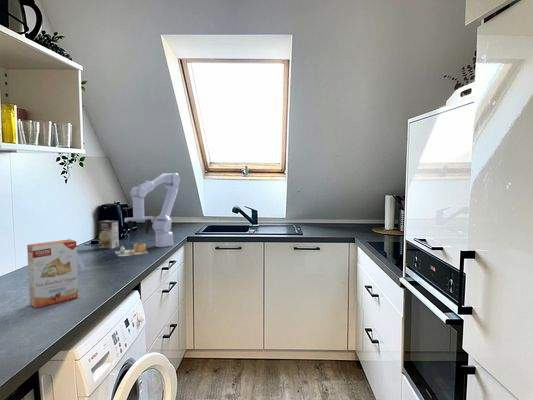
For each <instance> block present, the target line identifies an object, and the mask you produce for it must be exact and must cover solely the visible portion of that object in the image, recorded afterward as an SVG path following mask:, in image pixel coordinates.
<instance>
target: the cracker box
mask: <svg viewBox="0 0 533 400" xmlns="http://www.w3.org/2000/svg"><path fill="white" fill-rule="evenodd" d="M26 250H27V271H28V272H27V273H28V275H27V276H28V292H29V305H30V306H32V307H33V308H34V309H38V308H41V307H46V306H50V305H53V304H58V302H59V303H62V301H63V302H65V300H67V301H70V300H69V299H71V300H73V299H72V298H75V299H77V298H76V297H78V298H79V283H78V281H79V280H78V255H77V254H78V253H77V252H78V251H77V250H78V247H77V241H76V240H74V239H68V238H67V239H61V240H53V241H48V242H45V241H44V242H37V243H30V244H27V245H26Z"/></svg>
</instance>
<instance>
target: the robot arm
mask: <svg viewBox="0 0 533 400" xmlns="http://www.w3.org/2000/svg"><path fill="white" fill-rule="evenodd" d="M180 183H181V178H180V175H179V174H178V173H177V172H174V173H173V172H172V173H171V172H170V173H169V172H162V174H160V175H158V176H157V177H156V178H154V179H153V180H152V181H151V180H145V181H144V182H143V183H142V184H141V183H140V184H138V186H133V187H132V188H131V190H130V192H129V195H130V197H131V200H132V215H133V216H132V217H125V218H124V223H126V225H127V226H128V228H129V231H130V235H131V236H134V222H143V221H144V223H145V234H146V235H147V234H149V229H150V226H151V224H152V226H151V227H152V229H153V230H154V233H155V247H157V248H166V247H174V234H173V231H171V229H172V222H173V220H172V219H171V215H172V210H173V207H174V203H175V201H176V198H177V195H178V191H179V186H180ZM161 184H163V185H164V186H165V188H166V189H167V193H166V195H165V199H164V202H163V204H162V208H161V211H160V214H159V215H158V216H157V217H155V219H154V216H153V215H150V216H149V215H148V216H145V197H146V196H147V194H149V193H151V192H152V191H154V190H155V188H156V187H157V186H158V185H159V186H160V185H161ZM152 221H153V223H152Z"/></svg>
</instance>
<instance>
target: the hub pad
mask: <svg viewBox="0 0 533 400" xmlns="http://www.w3.org/2000/svg"><path fill="white" fill-rule="evenodd" d="M129 253H130V252H127V251H125V253H121V252H117V253H115V252H114V254H115V255H117V256H118V255H125V254H129Z"/></svg>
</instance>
